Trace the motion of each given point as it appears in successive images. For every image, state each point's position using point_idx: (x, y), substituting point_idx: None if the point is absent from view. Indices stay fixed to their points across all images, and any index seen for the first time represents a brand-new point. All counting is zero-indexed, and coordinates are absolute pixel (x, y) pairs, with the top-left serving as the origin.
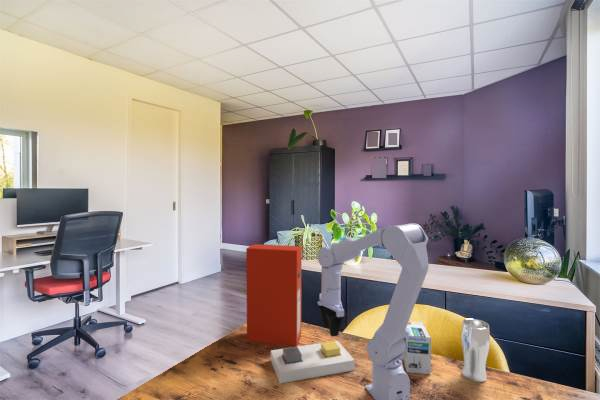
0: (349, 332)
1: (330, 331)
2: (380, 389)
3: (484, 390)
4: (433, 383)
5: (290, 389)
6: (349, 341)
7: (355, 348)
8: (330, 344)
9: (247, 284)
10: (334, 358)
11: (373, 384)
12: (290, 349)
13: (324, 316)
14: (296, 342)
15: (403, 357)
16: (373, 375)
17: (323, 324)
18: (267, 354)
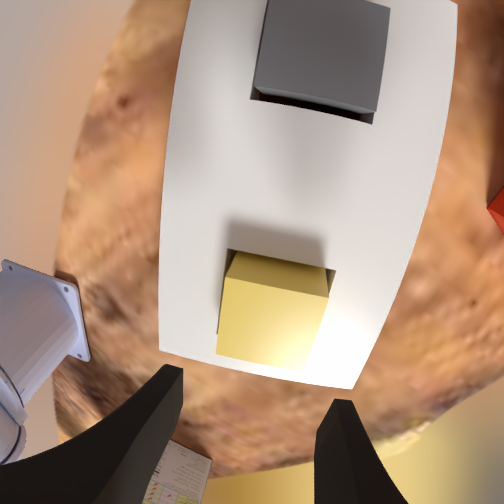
0: (410, 435)
1: (144, 387)
2: (4, 292)
3: (66, 436)
4: (84, 412)
5: (159, 7)
6: (366, 415)
7: (311, 408)
8: (281, 337)
9: None
10: (201, 286)
11: (24, 294)
12: (359, 46)
13: (343, 493)
14: (497, 213)
15: (176, 450)
16: (6, 310)
17: (341, 419)
18: (485, 40)
